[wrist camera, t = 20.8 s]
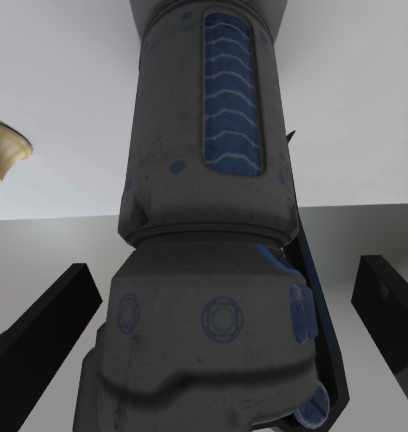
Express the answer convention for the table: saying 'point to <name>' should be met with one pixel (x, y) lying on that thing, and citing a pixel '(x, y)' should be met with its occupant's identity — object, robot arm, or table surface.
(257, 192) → the grey piece
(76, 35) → the table surface
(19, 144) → the hand bell
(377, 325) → the robot arm
